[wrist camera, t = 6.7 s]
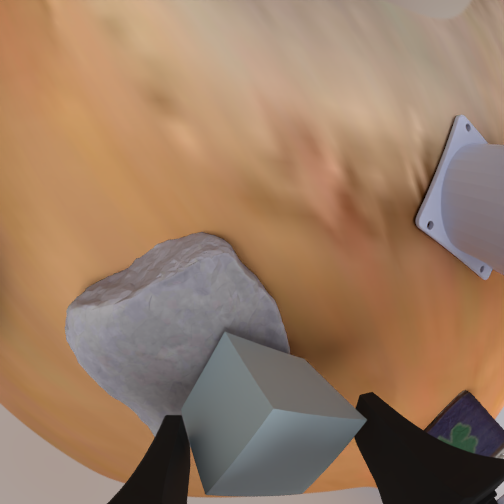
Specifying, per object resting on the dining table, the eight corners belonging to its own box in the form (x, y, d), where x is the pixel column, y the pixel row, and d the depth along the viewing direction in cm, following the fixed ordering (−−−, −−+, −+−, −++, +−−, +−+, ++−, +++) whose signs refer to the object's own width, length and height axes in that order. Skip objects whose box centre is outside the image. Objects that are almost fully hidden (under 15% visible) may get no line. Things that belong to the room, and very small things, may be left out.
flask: (415, 449, 24) (454, 513, 13) (402, 449, 23) (442, 518, 13) (471, 390, 22) (524, 450, 12) (462, 387, 21) (519, 452, 11)
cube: (304, 359, 14) (367, 419, 9) (259, 425, 14) (302, 493, 9) (224, 331, 12) (273, 408, 7) (181, 409, 12) (205, 494, 7)
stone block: (215, 205, 16) (65, 294, 14) (238, 216, 11) (37, 334, 10) (293, 359, 20) (174, 423, 18) (327, 399, 15) (183, 473, 14)
